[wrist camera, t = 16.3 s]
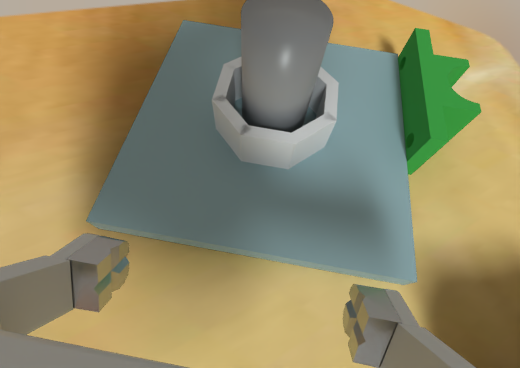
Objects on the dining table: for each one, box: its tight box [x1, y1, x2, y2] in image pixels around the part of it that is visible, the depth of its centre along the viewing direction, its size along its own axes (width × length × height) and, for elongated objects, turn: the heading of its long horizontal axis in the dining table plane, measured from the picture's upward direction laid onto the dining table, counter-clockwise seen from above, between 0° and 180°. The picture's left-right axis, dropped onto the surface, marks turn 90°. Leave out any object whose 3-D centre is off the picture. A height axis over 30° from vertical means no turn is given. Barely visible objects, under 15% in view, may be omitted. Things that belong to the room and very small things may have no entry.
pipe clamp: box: [398, 28, 481, 175], centre depth 22 cm, size 11×4×5 cm, turn 170°
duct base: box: [86, 20, 417, 285], centre depth 20 cm, size 20×20×4 cm
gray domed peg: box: [241, 0, 333, 133], centre depth 17 cm, size 5×5×8 cm
